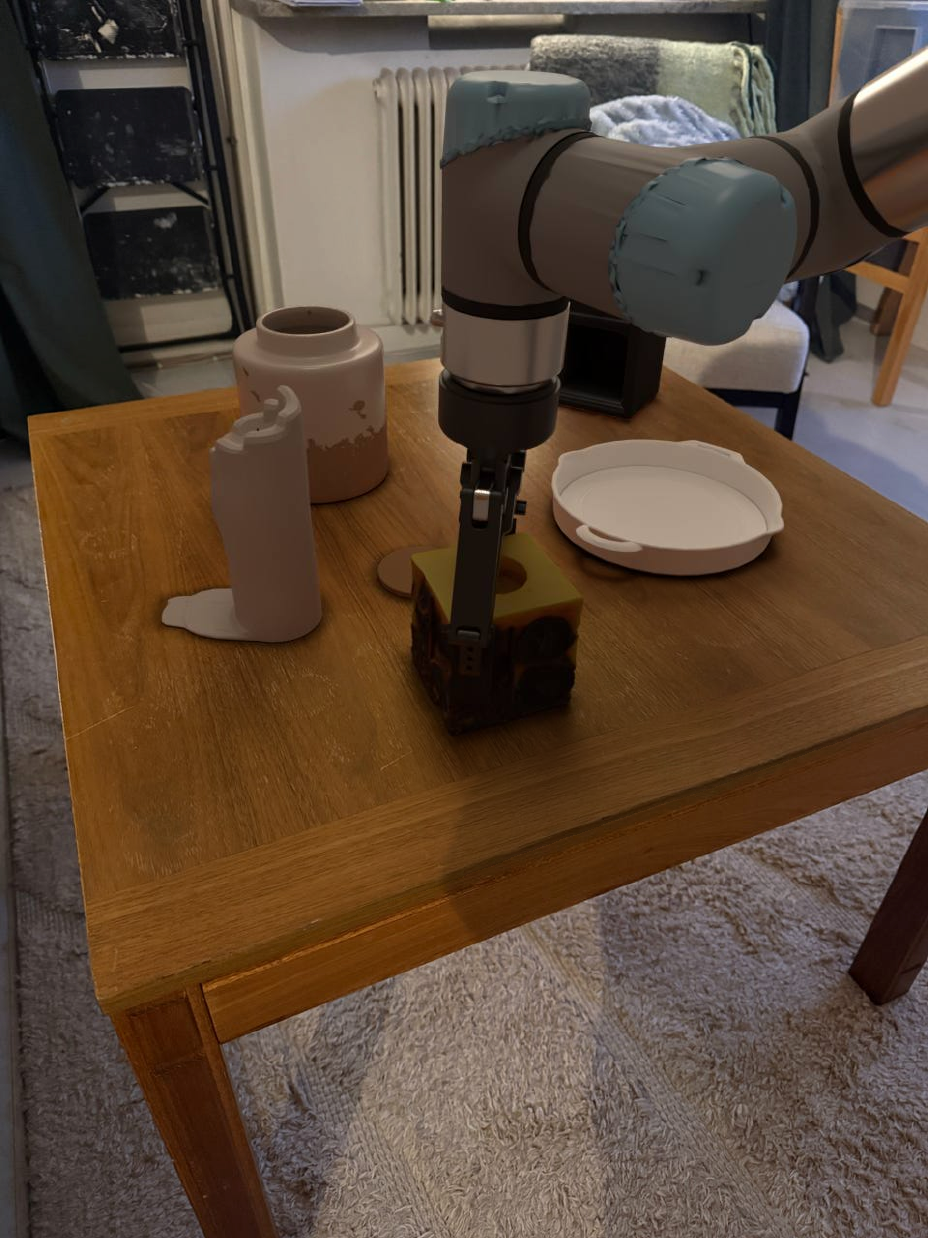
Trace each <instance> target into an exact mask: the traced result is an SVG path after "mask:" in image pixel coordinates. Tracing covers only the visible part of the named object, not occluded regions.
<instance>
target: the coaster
mask: <svg viewBox="0 0 928 1238" xmlns="http://www.w3.org/2000/svg"><path fill="white" fill-rule="evenodd" d="M439 549H441V548H440V547H436V546H430V545H414V546H413V545H412V546H406V547H402V548H399V549H397V550H394V551H392V552H390V553H388V554H387V555H385V556H384V557H383V558H382V559H381V560H380V562H379V564H378V566H377V579H378V581H379V583H380V585H381V586H382V588H384V590H386V591H388V592H389V593H391V594H393V595H396V596H397V597H402V598H404V599H410V600H412V594H411V588H412V565H411V557H410V556H411V555H412V554H415V553H422V552H428V551H434V550H439Z"/></svg>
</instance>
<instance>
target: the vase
mask: <svg viewBox="0 0 928 1238" xmlns="http://www.w3.org/2000/svg"><path fill="white" fill-rule="evenodd" d="M231 359H232V360H231V361H232V367H233V368H232V369H233V374H234V382H235V387H236V394H237V403H238V409H239V415H240V418H243V417H245V416H247V415H250V414H255V413H261V412H263V409H264V402H265V400H267V399H275V400H278V397H277V388H278V387H279V386H280V385H284V386H288V387H289V388H291V390H292V391H293V392H294V393H295V395H296V396H297V398H298V400H299V402H300V405H301V409H302V415H303V423H304V434H305V444H306V455H307V467H308V481H309V499H310V504H327V503H335V502H340V501H345V500H349V499H352V498H355V497H359V496H361V495H363V494H366V493H368V492H370V491H371V490H373V489H374V488H377V487H378V486H379V485H380V484H381V483H382V482H383V480H384V479H385V478H386V476H387V474H388V469H389V444H388V442H389V441H388V419H387V394H386V393H387V391H386V368H385V367H386V366H385V364H386V363H385V349H384V343H383V340H382V338H381V336H380V335H379V334H378V333H377V332H376V331H374V330H373V329H371V328H369V327H367V326H365V325H362V324H358V323H357V322H356V318H355V316H354V315H353V314H352V313H351V312H349V311H347V310H345V309H342V308H338V307H335V306H328V305H319V304H301V305H290V306H284V307H280V308H276V309H275V308H274V309H272V310H269V311H267V312H265V313H263V314H261V315H260V316H259V317H258V318H257V319H256V322H255V327H253V328H251V329H249V330H246V331H245V332H243V333H242V334H239V336H238V337H237V338H236V339H235V340H234V342H233V343H232V346H231Z"/></svg>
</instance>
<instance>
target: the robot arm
mask: <svg viewBox="0 0 928 1238" xmlns="http://www.w3.org/2000/svg"><path fill="white" fill-rule="evenodd" d="M591 98H592V97H591V92H590V89H589V86H588V85H587V84H586V83H585V82H584V81H583V80H582V79H579V78H577V77H573V76H571V75H568V74H562V73H555V72H547V71H546V72H545V71H537V70H515V69H513V70H512V69H511V70H509V69H491V70H478V71H472V72H468V73H467V72H466V73H464V74H462V75H460V76H459V77H457V78H456V79H455V80H454V81H453V82H452V83H451V85H450V87H449V89H448V92H447V95H446V100H445V111H444V112H445V113H444V126H443V128H444V129H443V139H442V152H441V153H442V154H441V158H440V159H439V163H438V164H439V169H440V170H441V205H440V206H441V209H440V210H441V215H440V217H441V219H440V220H441V221H440V223H441V224H440V297H441V302H440V309H433V310H432V312H431V314H430V317H429V319H430V320H429V321H430V323H431V324H432V325H433V326H434V327H440V328H442V332H441V333H440V337H439V340H440V345H439V362H440V364H441V366H442V367H443V369H442V370H441V371H440V372H439V375H438V396H437V398H438V399H437V401H438V402H437V422H438V426H439V428H440V431H441V432H442V433H443V434H444V436H445V437H446V438H448V440H450V441H452V442H453V443H456V444H459V445H461V446H462V447H464V448H466V456H465V458H466V460H465V461H462V462H461V467H460V474H459V483H460V486H461V490H460V491H459V499H460V505H459V506H460V507H459V512H458V523H459V528H458V538H457V546H458V547H457V557H456V567H455V577H454V587H453V597H452V607H451V617H450V624H447V623H441V633H447V638H448V643H449V644H452V665H451V694H450V700H451V701H458V702H466V703H473V704H481V705H489V701H490V691H491V677H492V663H493V650H494V636H495V625H492V623H493V615H494V607H495V599H496V591H497V583H498V575H499V567H500V559H501V551H502V543H503V537H504V536H507V535H512V534H517V523H518V518H516V517H515V516H523V517H526V513H527V505H528V504H527V503H528V501H527V500H525V499H518V497H519V494H520V493H521V492H522V481H523V476H524V475H523V474H524V473H525V471H526V462H527V451H529V450H532V449H535V448H537V447H539V446H541V445H544V444H545V443H546V442H548V440H550V439H551V437H552V436H553V435H554V433H555V431H556V428H557V419H558V409H559V404H558V402H559V393H560V380H559V378H558V376H557V375H558V374H559V373H560V371H561V370H562V368H563V364H564V355H565V345H566V336H567V327H568V318H569V309H570V302H569V300H570V298H571V299H574V300H576V301H579V302H581V303H584V304H586V305H589V306H591V307H594V308H596V309H599V310H601V311H604V312H606V313H609V314H611V315H614V316H616V317H619V318H621V319H624V320H626V321H629V322H631V323H633V325H636V326H638V327H640V328H641V329H642V330H644V331H646V332H653V333H654V334H655V335H658V336H660V337H667V338H670V339H677V340H680V341H684V342H687V343H692V344H695V345H699V346H706V347H717V346H723V345H726V344H729V343H732V342H734V341H737V340H739V339H740V338H741V337H743V336H744V335H745V334H747V333H748V332H749V330H750V328H751V327H752V324H753V322H754V321H755V320H759V319H762V318H763V317H764V316H765V315H766V314H767V312H768V311H769V310H770V309H771V308H772V306H773V304H774V303H775V301H776V300H777V298H778V296H779V294H780V292H781V290H782V288H783V286H785V285H788V284H791V283H795V282H798V281H803V280H806V279H810V278H813V277H826V276H829V275H833V274H836V273H838V272H841V271H843V270H846V269H849V268H851V267H854V266H856V265H859V264H861V263H862V262H864V261H866V260H867V259H869V258H870V257H872V256H874V255H875V254H877V253H879V252H880V251H882V250H883V249H884V248H885V247H886V246H888V245H890V244H892V243H894V242H896V241H899V240H901V239H902V238H904V237H906V236H908V235H910V234H912V233H914V232H916V231H918V230H920V229H923V228H925V227H928V44H927V45H925V46H924V47H922V48H920V49H918V50H916V51H915V52H914V53H912V54H910V55H909V56H907V57H906V58H904V59H902V60H901V61H900V62H897V63H896V64H894V65H893V66H891V67H889V68H888V69H886V70H884V72H882V73H880V74H879V75H877V76H875V77H874V78H872V79H871V80H869V81H867V82H866V83H864V85H862V87H861V88H859V89H857V90H856V91H854V92H852V93H850V94H848V95H846V96H844V97H843V98H842V99H839V100H837V101H836V102H835V103H833V104H832V105H830V106H829V107H827V108H825V109H824V110H822V111H820V112H819V113H817V114H816V115H814V116H812V117H811V118H809V119H808V120H806V121H803V122H802V123H801V124H798V125H797V126H795V127H793V128H790V129H788V130H785V131H780V132H773V133H768V134H761V135H754V136H753V135H751V136H748V137H743V138H736V139H729V140H728V139H727V140H720V141H712V142H705V143H704V142H703V143H698V144H697V143H696V144H690V145H689V144H688V145H684V146H683V145H682V146H672V147H670V146H669V147H665V146H654V145H647V144H643V143H638V142H631V141H626V140H620V139H614V138H609V137H606V136H602V135H598V134H597V133H595V132H592V127H593V121H592V120H591V117H590V115H591Z"/></svg>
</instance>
